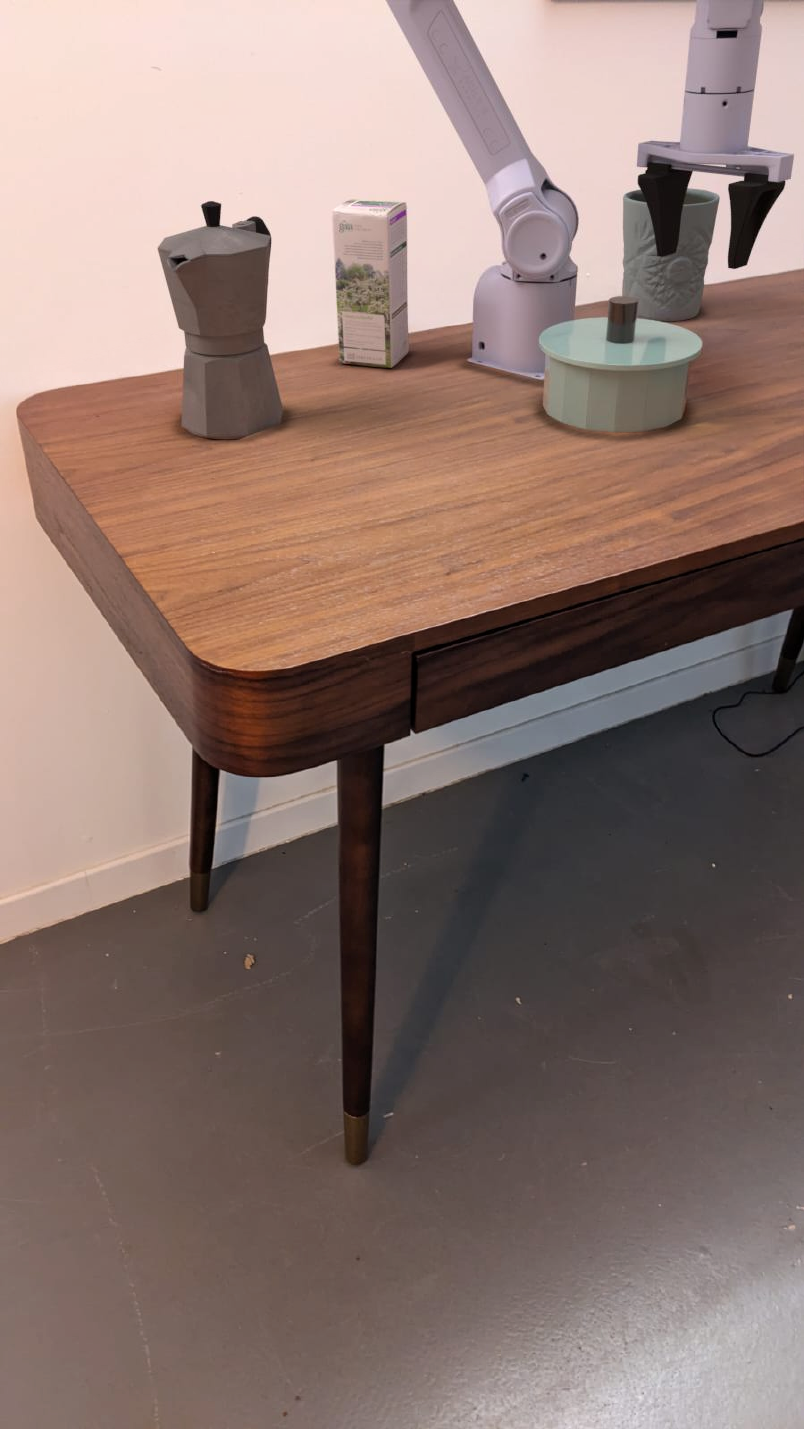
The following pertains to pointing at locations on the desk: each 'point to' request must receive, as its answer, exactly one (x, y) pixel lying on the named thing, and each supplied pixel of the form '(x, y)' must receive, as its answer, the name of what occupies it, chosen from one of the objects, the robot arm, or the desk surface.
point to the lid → (620, 341)
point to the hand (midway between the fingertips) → (701, 260)
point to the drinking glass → (667, 257)
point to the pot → (614, 396)
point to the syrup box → (371, 281)
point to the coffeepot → (223, 325)
